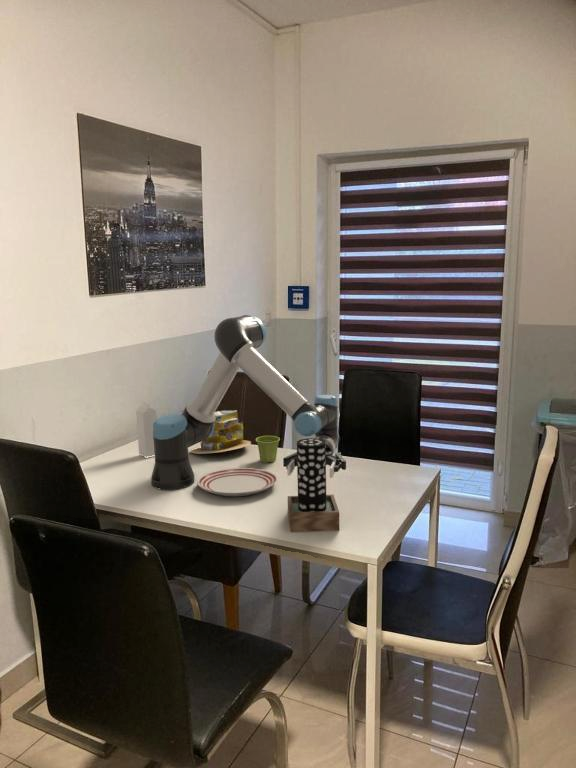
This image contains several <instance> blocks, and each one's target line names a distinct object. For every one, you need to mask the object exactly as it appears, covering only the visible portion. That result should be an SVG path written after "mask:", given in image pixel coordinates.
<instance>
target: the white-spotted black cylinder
mask: <svg viewBox="0 0 576 768" xmlns="http://www.w3.org/2000/svg"><path fill="white" fill-rule="evenodd" d="M296 452H297V466H296V470H297V475H296V476H297V496H298V509H299V510H300V511H302V512H317V511H324V510H326V495H327V465H326V442H325V441H324V440H322V439H316V438H315V437H314V438H312V437H311V438H302V439H299V440H297V441H296Z"/></svg>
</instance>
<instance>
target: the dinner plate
mask: <svg viewBox="0 0 576 768" xmlns="http://www.w3.org/2000/svg"><path fill="white" fill-rule="evenodd" d="M278 481H279V479H278V476H277V475H276V474H275V473H273V472H271V471H268V470H266V469H261V468H253V467H252V468H251V467H233V468H226V469H225V468H224V469H219V470H215V471H210V472H207V473H205V474H203V475H202V476H200V477H198V479H197V481H196V482H197V485H198V487H199V488H200V489H202V490H204V491H206V492H209V493H211V494H212V493H213V494H215V495H219V494H220V495H219V496H223V495H225V497H243V496H250V495H254V494H257V493H260V492H264V491H265V490H267V489H269V488H271V487H273V486H274V485H275V484H276V483H277V482H278Z"/></svg>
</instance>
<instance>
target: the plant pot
mask: <svg viewBox="0 0 576 768" xmlns="http://www.w3.org/2000/svg"><path fill="white" fill-rule="evenodd" d="M280 440H281V439H280V437H278V436H275V435H262V436H258V437H256V438H255V442H256V444H257V448H258V453H259V459H260V461H261V462H263V463H273V462H276V461H277V456H278V455H277V454H278V446H279V442H280Z"/></svg>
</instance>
